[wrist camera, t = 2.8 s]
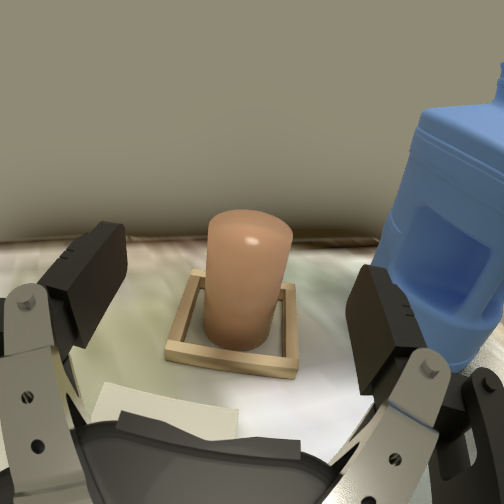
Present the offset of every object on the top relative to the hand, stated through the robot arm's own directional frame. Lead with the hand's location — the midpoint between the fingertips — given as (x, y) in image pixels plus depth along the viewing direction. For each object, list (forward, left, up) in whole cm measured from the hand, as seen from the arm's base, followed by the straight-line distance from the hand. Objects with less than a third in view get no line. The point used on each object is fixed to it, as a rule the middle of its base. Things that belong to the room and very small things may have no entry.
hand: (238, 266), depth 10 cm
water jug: (-20, -14, -15) cm, 28 cm away
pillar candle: (0, -12, -15) cm, 20 cm away
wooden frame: (0, -11, -15) cm, 19 cm away
